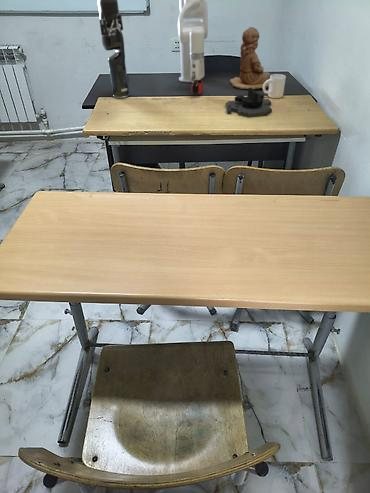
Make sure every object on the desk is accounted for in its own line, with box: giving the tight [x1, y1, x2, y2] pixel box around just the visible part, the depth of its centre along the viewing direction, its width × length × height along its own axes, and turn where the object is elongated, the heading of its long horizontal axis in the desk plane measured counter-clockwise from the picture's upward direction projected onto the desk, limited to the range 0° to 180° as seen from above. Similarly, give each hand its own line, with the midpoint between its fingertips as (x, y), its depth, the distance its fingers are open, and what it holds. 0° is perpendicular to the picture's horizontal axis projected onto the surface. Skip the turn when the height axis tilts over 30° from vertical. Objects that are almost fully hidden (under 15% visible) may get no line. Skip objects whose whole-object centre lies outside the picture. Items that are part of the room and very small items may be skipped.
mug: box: [262, 73, 287, 99], centre depth 195 cm, size 12×8×10 cm
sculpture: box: [229, 26, 271, 90], centre depth 208 cm, size 27×24×30 cm
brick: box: [190, 82, 204, 94], centre depth 201 cm, size 5×5×4 cm
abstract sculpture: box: [224, 88, 273, 118], centre depth 181 cm, size 25×9×20 cm
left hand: (114, 44), depth 160 cm, fingers open, 8 cm apart
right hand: (197, 91), depth 203 cm, fingers closed on brick, 5 cm apart
